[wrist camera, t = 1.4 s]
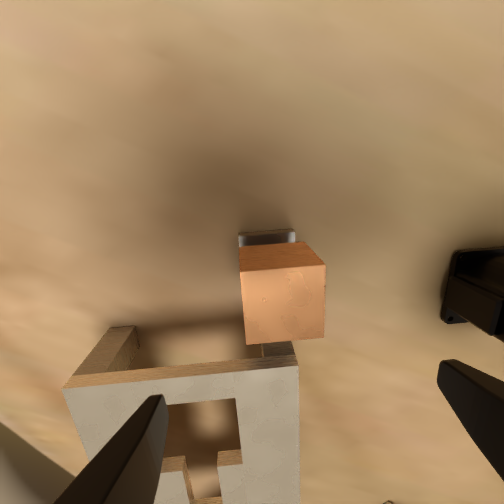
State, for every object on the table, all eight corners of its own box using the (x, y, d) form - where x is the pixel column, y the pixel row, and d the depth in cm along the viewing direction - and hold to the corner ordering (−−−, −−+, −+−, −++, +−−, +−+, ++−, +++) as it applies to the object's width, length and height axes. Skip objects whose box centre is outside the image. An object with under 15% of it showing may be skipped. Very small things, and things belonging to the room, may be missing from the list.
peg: (292, 228, 19) (325, 264, 12) (293, 277, 20) (323, 337, 13) (238, 232, 19) (239, 272, 12) (242, 282, 20) (246, 344, 13)
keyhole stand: (281, 312, 21) (298, 365, 15) (286, 462, 27) (300, 541, 21) (109, 328, 21) (61, 389, 15) (152, 477, 26) (128, 562, 21)
